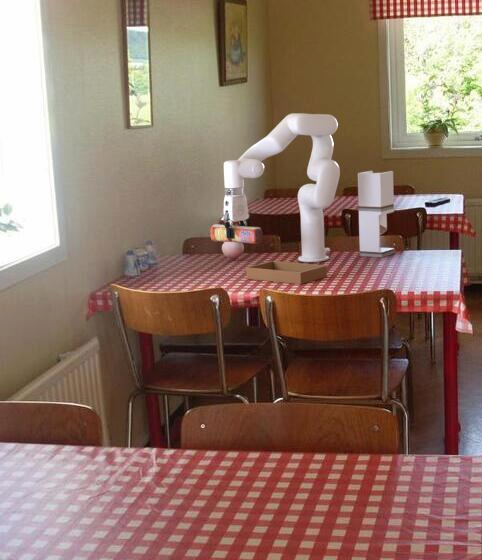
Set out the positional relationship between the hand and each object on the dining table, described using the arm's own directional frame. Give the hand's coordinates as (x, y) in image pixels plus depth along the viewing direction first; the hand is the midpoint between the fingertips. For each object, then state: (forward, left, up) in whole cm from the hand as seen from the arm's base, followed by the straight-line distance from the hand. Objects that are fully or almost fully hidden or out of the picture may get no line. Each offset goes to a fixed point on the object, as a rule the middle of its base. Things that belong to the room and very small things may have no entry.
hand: (236, 236), depth 393 cm
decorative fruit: (-17, -17, -14) cm, 28 cm away
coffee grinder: (-55, +31, -14) cm, 65 cm away
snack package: (0, 0, -2) cm, 2 cm away
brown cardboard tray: (+5, +28, -13) cm, 31 cm away
